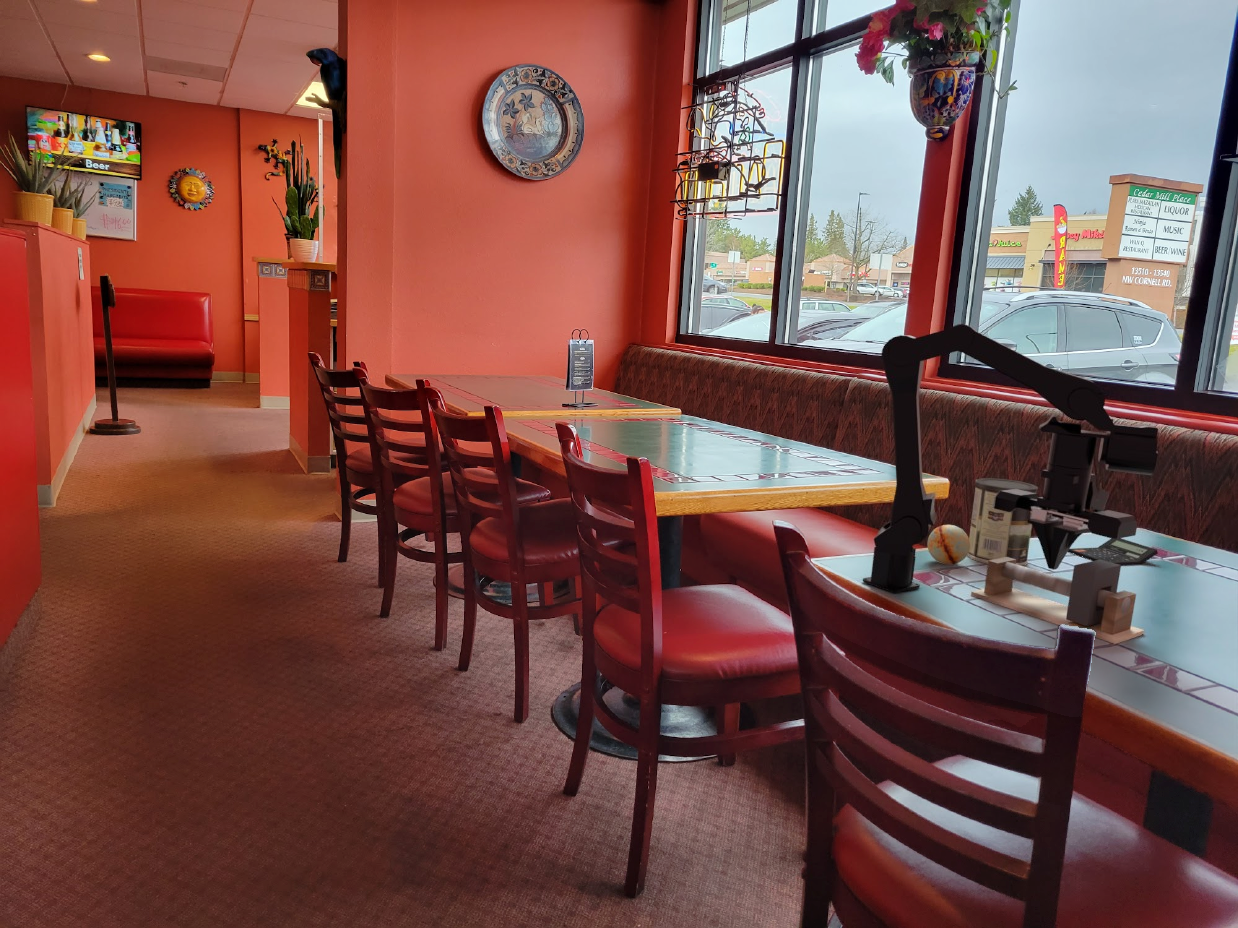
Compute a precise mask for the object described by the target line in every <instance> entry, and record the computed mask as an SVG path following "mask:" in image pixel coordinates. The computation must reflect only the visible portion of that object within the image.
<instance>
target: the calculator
mask: <svg viewBox="0 0 1238 928" xmlns="http://www.w3.org/2000/svg"><path fill="white" fill-rule="evenodd" d="M1068 551H1069V552H1071V553H1070V554H1072V553H1074V554H1073V555H1075V554H1076V555H1075V556H1078V555H1079V556H1078V557H1081V556H1083V557H1084V559H1086V558H1087V560H1089V559H1091V560H1090V561H1096V560H1104V561H1107V562H1111V563H1115V564H1119V565H1121V566H1133V565H1134V566H1135V565H1143V564H1144V563H1146V562H1147V561H1149V560H1150V559H1151V558H1153V557H1155V556H1157V555H1158V553H1159V552H1158V550H1157V549H1155V548H1153V547H1150V546H1147V545H1143V544H1139V543H1136V542H1133V541H1131V540H1127V539H1124V538H1119V539H1114V538H1109V539H1108V540H1107V541H1105V542H1104V543H1102V544H1101V545H1099V546H1098V547H1081V548H1074V547H1073V548H1070V549H1069V550H1068ZM1069 552H1068V553H1069ZM1083 557H1082V558H1083Z"/></svg>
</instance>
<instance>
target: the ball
mask: <svg viewBox="0 0 1238 928" xmlns="http://www.w3.org/2000/svg"><path fill="white" fill-rule="evenodd" d="M926 545H927V551H928V553H929V555H930V556H931V557H932V558H933V559H934V560H935V561H936V562H938V563H940V564H943V565H947V566H948V565H949V566H950V565H952V566H953V565H956V564H959V563H960V562H962V561H964V560H965V559H966V557H968V556H967V555H968V553H969V550H970V541H969V536H968V534H967V533H966V532H965V531H964V529H963V528H961V527H959V526H957V525H953V524H943V525H940V526H936V528H934V529H933V530H932V531H931V533H930V534H929V536H928V538H927V544H926Z"/></svg>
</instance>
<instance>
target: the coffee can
mask: <svg viewBox="0 0 1238 928" xmlns="http://www.w3.org/2000/svg"><path fill="white" fill-rule="evenodd" d="M974 484H975V490H974V497H973V498H974V499H973V507H972V514H971V521H970V530H969V536H968V538H969V541H970V550H969V553H968V555H967V556H966V557H968V558H969V559H971V558H972V559H971V560H974V561H976V562H980V563H984V564H987V565H988V561H989V560H994V559H999V558H1004V557H1009V558H1013V559H1016V564H1017V565H1020V566H1024V567H1025V566H1026V565H1027V564H1028V555H1029V548H1030V543H1031V542H1030V541H1031V534H1032V528H1033V526H1032V524H1030V523H1027V519H1030V517H1031V511H1029V510H1025V509H1021V508H1017V509H1015V510H1014V511H1013V512H1006V511H1002V510H998V509H994V508H993V504H994V497H995V496H996V494H997V493H998V492H999V491H1002V490H1011V489H1019V490H1023V491H1028V492H1032V493H1037V492H1038V489H1039V487H1038V486H1036V485H1035V484H1032V483H1029V482H1025V481H1019V480H1014V479H1005V478H995V477H994V478H992V477H991V478H989V477H983V478H978V479H975V483H974ZM1025 564H1026V565H1025Z"/></svg>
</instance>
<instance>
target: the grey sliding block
mask: <svg viewBox="0 0 1238 928" xmlns="http://www.w3.org/2000/svg"><path fill="white" fill-rule="evenodd" d="M1121 566H1122V565H1119V564H1115V563H1111V562H1107V561H1104V560H1096V561H1092V560H1090V561H1088V562H1083V563H1078V564H1074V565H1073V572H1072V578H1071V580H1072V583H1071V590H1070V596H1069V598H1068V605H1067V606H1068V609H1067V616H1066V619H1067V620H1070V621H1073V622H1076V623H1079V624H1082V625H1085V626H1089V625H1092V624H1096V623H1099V622H1102V619H1103V613H1104V607H1100V606H1097V600H1098V594H1099V589H1102V590H1106V591H1109V592H1113V593H1117V592H1118V586H1119V581H1120V575H1121V568H1122V567H1121Z"/></svg>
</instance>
